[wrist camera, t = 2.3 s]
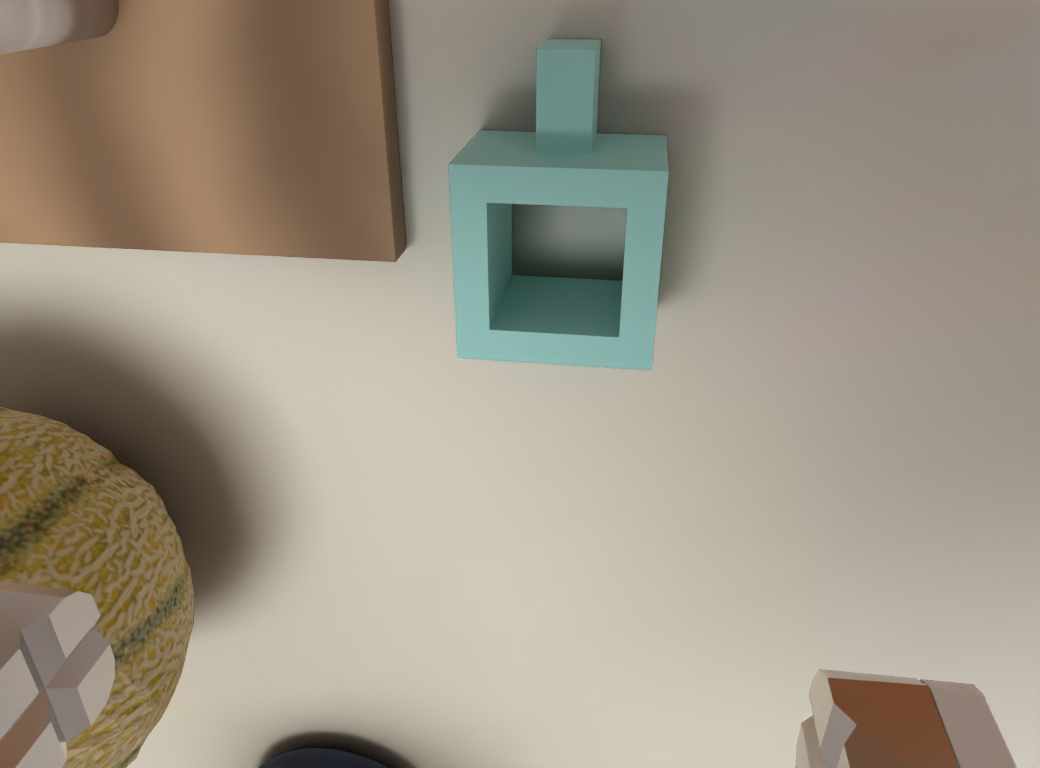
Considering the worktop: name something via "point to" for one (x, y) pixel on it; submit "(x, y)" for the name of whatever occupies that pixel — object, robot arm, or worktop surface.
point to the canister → (320, 759)
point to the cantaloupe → (99, 568)
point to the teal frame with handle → (562, 182)
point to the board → (201, 127)
